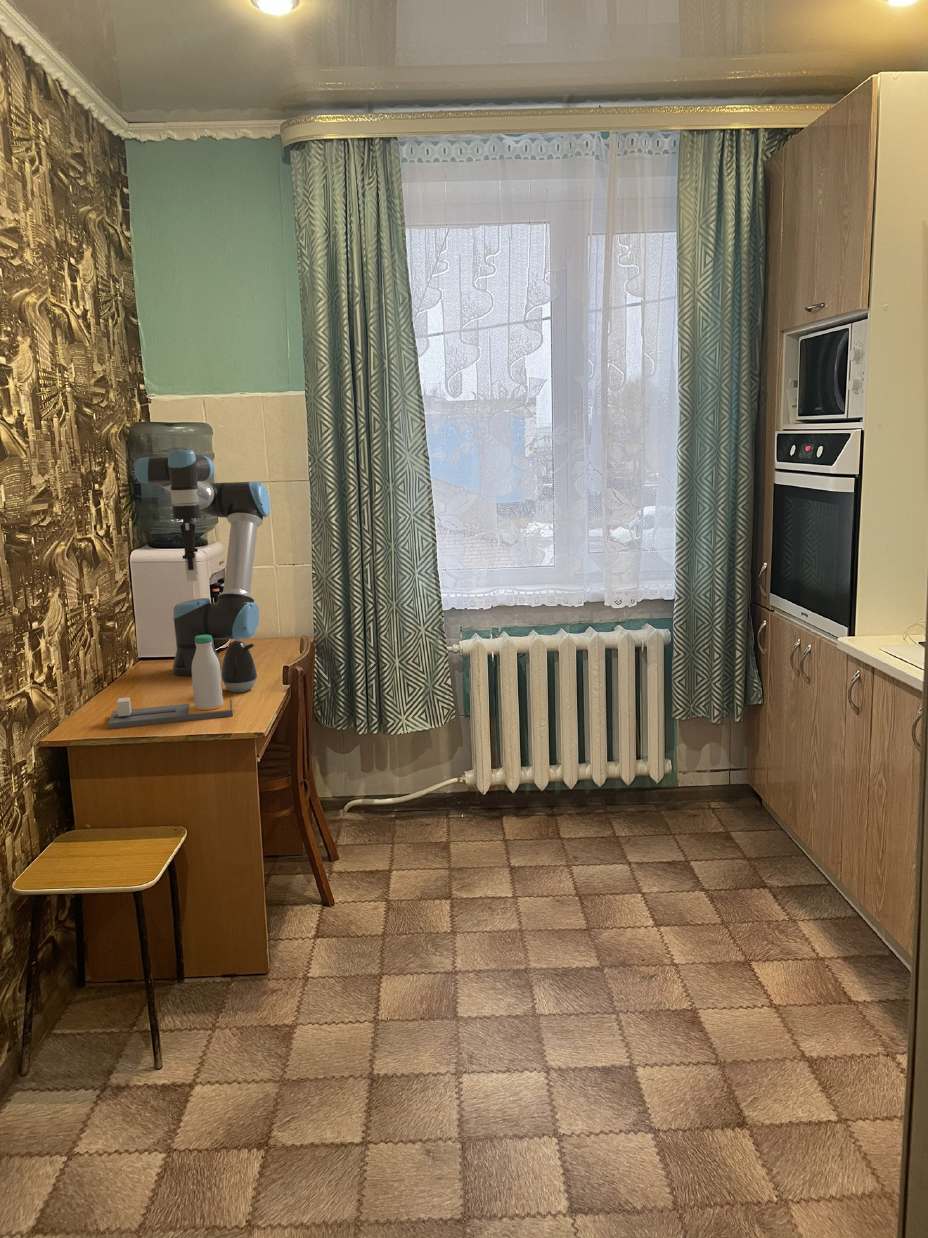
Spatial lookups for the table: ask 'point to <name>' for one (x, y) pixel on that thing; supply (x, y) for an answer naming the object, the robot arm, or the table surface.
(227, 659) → the pump dispenser
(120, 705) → the handle
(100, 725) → the table surface
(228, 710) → the board
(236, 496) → the robot arm
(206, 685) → the milk bottle
